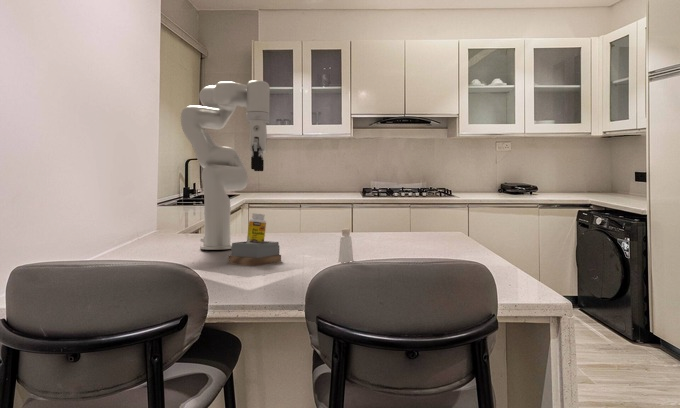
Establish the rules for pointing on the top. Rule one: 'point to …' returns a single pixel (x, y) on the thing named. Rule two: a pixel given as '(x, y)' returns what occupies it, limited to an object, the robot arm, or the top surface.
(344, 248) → the pepper shaker
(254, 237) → the supplement bottle
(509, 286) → the top surface
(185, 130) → the robot arm
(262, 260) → the tower base
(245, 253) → the tower top
